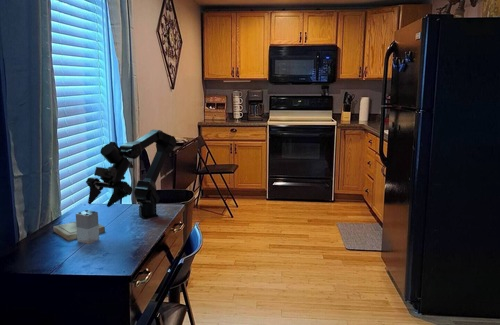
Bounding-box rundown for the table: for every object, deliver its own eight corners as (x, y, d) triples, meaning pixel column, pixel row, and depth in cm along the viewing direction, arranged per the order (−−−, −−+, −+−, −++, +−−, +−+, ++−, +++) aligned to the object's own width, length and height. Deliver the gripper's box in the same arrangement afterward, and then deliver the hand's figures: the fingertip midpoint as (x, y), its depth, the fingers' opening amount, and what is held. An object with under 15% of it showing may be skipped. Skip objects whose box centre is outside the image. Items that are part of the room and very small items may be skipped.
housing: (88, 237, 153) (86, 209, 151) (99, 239, 151) (97, 211, 149) (77, 241, 148) (75, 212, 147) (88, 244, 146) (87, 214, 144)
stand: (89, 223, 169) (88, 217, 168) (105, 231, 159) (104, 225, 159) (53, 231, 159) (53, 225, 159) (68, 240, 149) (67, 234, 149)
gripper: (88, 156, 158) (66, 190, 150) (126, 160, 151) (105, 196, 143) (104, 173, 167) (84, 206, 159) (140, 177, 159) (122, 212, 151)
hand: (98, 205), depth 153 cm, fingers open, 9 cm apart
